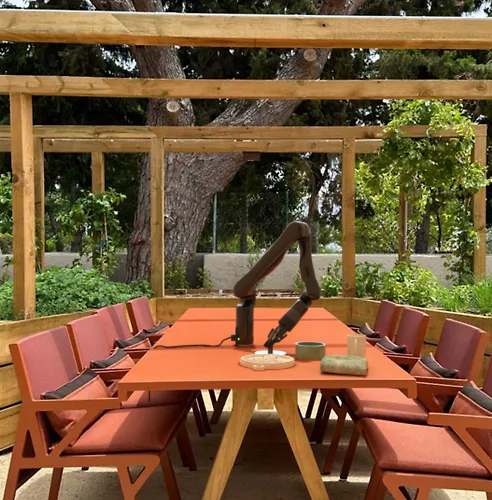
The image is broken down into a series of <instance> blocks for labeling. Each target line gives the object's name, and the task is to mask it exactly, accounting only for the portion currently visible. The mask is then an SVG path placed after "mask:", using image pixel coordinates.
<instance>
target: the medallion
mask: <svg viewBox="0 0 492 500" xmlns="http://www.w3.org/2000/svg"><path fill="white" fill-rule="evenodd" d="M295 364H296V363H295V357H292V356H290V355H278V354H254V353H253V354H246V355H242V356H241V357H239V365H240V366H242V367H244V368H249V369H252V371H258V372H261V371H265V370H282V369H288V368H292V367H295Z"/></svg>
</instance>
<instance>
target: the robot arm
mask: <svg viewBox="0 0 492 500" xmlns="http://www.w3.org/2000/svg"><path fill="white" fill-rule="evenodd" d="M296 242H297V246H298V250H299V258H298V269H299V274H300V279H301V282H302V283H303V284H304V286H305V290H303V292H302V293H301V294H300V296H299V297H298V299H297V301H295V302H294V303H293V304H292V306H291V307H290V308H288V310H286V312H285V313H284V314H283V315H282V316H281V317H280V318H279V320H278V321H277V323H278V325H277V326H276V327H275V328H273V327H272V328H271V329H270V330H269V333H268V334H267V336H266V338H267V340H266V341H265V342H264V343H263V347H264V348H265V349H267V350H268V349H270V348H271V347H272V346H273V347H274V345H275V344H279V343H280V342H282V341H283V340H284V339H286V338H287V337H288V334H287V333H291V332H292V331H293V330H294V328H295V327H296V326H297V325H298V323H300V321H301V319H303V317H304V316H305V315H306V313H307V312H308V311H309V308H310V307H311V306H312V304H313V303H314V302H317V301H319V300H320V299H321V296H322V291H321V287H320V284H319V282H318V279H317V275H316V272H315V266H314V261H313V256H312V245H311V229H310V226H309V225H308V223H306V222H303V221H297V220H296V221H292V222H290V223H288V224H287V226H286V228H285V229H284V230H283V231H282V233H281V234H280V236H279V237H278V238H277V239H276V241H274V243H273V244H271V246H270V247H269V248H268V249H267V250H266V251H265V252H264V253H263V254H262V255H261V256H260V257H259V259H257V261H256V262H255V264H254V265H252V267H250V269H249V270H248V271H247V273H245V274H244V275H243V276H241V278H239V280H237V281H236V282H235V284H234V285H233V289H232V292H233V296H234V297H236V298H237V299H239V302H238V303H237V305H236V306H235V327H234V330H235V333H234V332H233V333H231V334H230V336H228V337H225V338H223V339H222V340H221V342H220V343H219V344H216V345H213V344H212V345H211V344H200V343H199V344H181V345H180V344H179V345H169V346H168V345H167V346H166V345H163V344H157V345H155V346H154V347H153V349H157V348H165V349H176V348H183V347H184V348H185V347H188V348H189V347H209V348H211V347H213V348H216V347H221V346H222V345H223V343H224V341H227V340H230V341H231V342H234V347H253V346H254V345H255V343H254V341H255V335H254V334H255V307H256V303H257V302H256V301H257V287H256V285H257V284H258V283H259V282H260V281H261V280H263V279H264V278H266V277H268V276H269V275H270V274H271V273H273V272H274V271H275V270H276V269H277V268H279V266H280V265H281V263H282V262H283V260H284V257H285V256H286V253H287V251H288V250H289V248H291V246H292V245H293V244H295V243H296ZM268 338H272V340H271V341H270V342H269V343H268ZM147 400H148V401H147V402H148V403H150V402H151V390H150V391H149V390H148V399H147Z"/></svg>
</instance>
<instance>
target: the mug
mask: <svg viewBox="0 0 492 500" xmlns="http://www.w3.org/2000/svg"><path fill="white" fill-rule="evenodd" d="M346 337H347V339H346V340H347V341H346V355H349V356H361V357H365V358H366V359H367V335H366V334H362V333H350V334H347V336H346Z"/></svg>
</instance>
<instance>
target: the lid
mask: <svg viewBox="0 0 492 500" xmlns="http://www.w3.org/2000/svg"><path fill="white" fill-rule="evenodd" d="M267 340H268V343H269V342H270V341H271V340H272V338H268V337H267ZM253 354H278V355H285V356H287V352H286V351H282V350H274V345H273V346H272V347H271V348H270V349H268V348H267V350H266V349H265V350H257V351H255V352H254V353H253Z"/></svg>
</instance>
